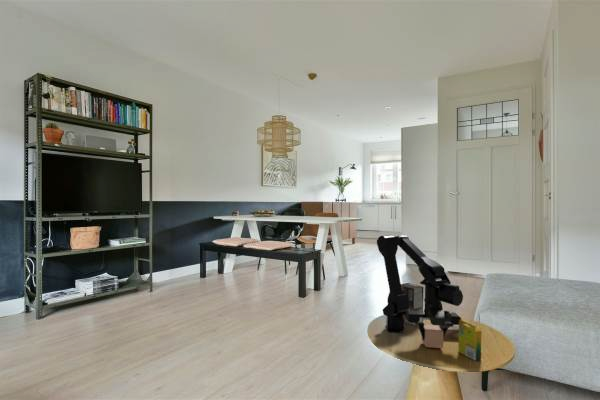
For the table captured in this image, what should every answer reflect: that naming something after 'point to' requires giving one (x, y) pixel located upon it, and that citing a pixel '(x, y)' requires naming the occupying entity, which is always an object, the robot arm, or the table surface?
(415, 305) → the coffee box
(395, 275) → the robot arm
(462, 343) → the crayon box
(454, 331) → the walnut block
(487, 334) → the table surface
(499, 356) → the table surface
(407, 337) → the table surface
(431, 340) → the pink cube
